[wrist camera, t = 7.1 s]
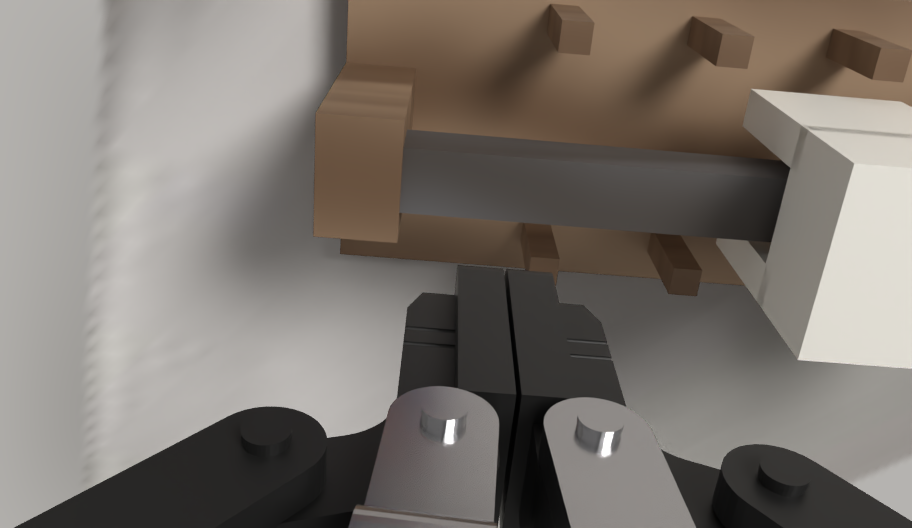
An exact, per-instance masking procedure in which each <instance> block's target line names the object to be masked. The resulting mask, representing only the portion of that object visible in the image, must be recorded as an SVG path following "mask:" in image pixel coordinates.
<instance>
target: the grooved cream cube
mask: <svg viewBox="0 0 912 528" xmlns="http://www.w3.org/2000/svg"><path fill="white" fill-rule="evenodd" d="M743 127H744V128H745V129H746V130H748V131H749V132H750V133H751V134H752V135H753V136H754V137H756V138H757V139H758V140H759V141H760V142H761V143H762V144H764V145H765V146H766V147H767V148H768V149H769V150H770V151H772V152H773V153H774V154H775V155H776V156H777V157H778V158H780V159H781V160H782V161H783V162H784V163H785V164H786V165H788V166H789V167H790V171H789V175H788V179H787V183H786V187H785V191H784V195H783V199H782V203H781V207H780V211H779V214H778V218H777V222H776V226H775V230H774V234H773V238H772V242H759V241H746V240H734V239H721V238H717V241H716V244H717V246H718V247H719V249H720V250H721V252H722V253H723V254H724V256H725V257H726V259H727V260H728V262H729V263H730V264H731V266H732V267H733V269H734V270H735V271H736V273H737V274H738V276H739V277H740V279H741V280H742V281H743V283H744V284H745V286H746V287H747V289H748V290H749V291H750V293H751V294H752V296H753V297H754V298H755V300H756V301H757V303H758V304H759V306H760V307H761V308H762V310H763V311H764V313H765V314H766V316H767V317H768V318H769V320H770V321H771V323H772V324H773V325H774V327H775V328H776V330H777V331H778V333H779V334H780V335H781V337H782V338H783V340H784V341H785V343H786V344H787V345H788V347H789V348H790V350H791V351H792V352H793V354H794V355H795V357H796V358H797V360H804V361H817V362H830V363H844V364H857V365H870V366H883V367H897V368H910V369H912V107H911V106H909V105H907V104H905V103H903V102H899V101H888V100H876V99H864V98H853V97H841V96H829V95H818V94H806V93H794V92H783V91H771V90H759V89H751V91H750V95H749V100H748V104H747V109H746V113H745V117H744V122H743Z"/></svg>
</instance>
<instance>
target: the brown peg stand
mask: <svg viewBox="0 0 912 528" xmlns="http://www.w3.org/2000/svg"><path fill="white" fill-rule="evenodd" d="M751 89H759V90H771V91H783V92H794V93H806V94H818V95H829V96H841V97H853V98H864V99H876V100H888V101H899V102H903V103H905V104H907V105H909V106H911V107H912V0H348V26H347V57H346V64H345V65H344V67H343V69H342V70H341V72H340V74H339V75H338V77H337V78H336V80H335V82H334V83H333V85H332V87H331V88H330V90H329V92H328V93H327V95H326V97H325V98H324V100H323V102H322V103H321V105H320V107H319V108H318V110H317V112H316V116H315V173H314V231H313V236H314V237H326V238H339V239H341V246H340V254H348V255H361V256H374V257H386V258H399V259H412V260H425V261H438V262H450V263H463V264H476V265H489V266H502V267H514V268H525V270H526V271H538V272H551V273H552V274H553V278H554V282H555V285H556V282H557V275H558V271H566V272H578V273H591V274H604V275H617V276H630V277H642V278H655V279H661V280H662V282H663V284H664V286H665V288H666V290H667V292H668V294H675V295H688V296H697V292H698V288H699V284H700V282H706V283H719V284H732V285H745V284H744V283H743V281H742V280H741V279H740V277H739V276H738V274H737V273H736V271H735V270H734V269H733V267H732V266H731V264H730V263H729V262H728V260H727V259H726V257H725V256H724V254H723V253H722V252H721V250H720V249H719V247H718V246H717V244H716V241H717V238H721V239H734V240H746V241H759V242H772V238H773V234H774V230H775V226H776V222H777V218H778V214H779V211H780V207H781V203H782V199H783V195H784V191H785V187H786V183H787V179H788V175H789V171H790V167H789V166H788V165H786V164H785V163H784V162H783V161H782V160H781V159H780V158H778V157H777V156H776V155H775V154H774V153H773V152H772V151H770V150H769V149H768V148H767V147H766V146H765V145H764V144H762V143H761V142H760V141H759V140H758V139H757V138H756V137H754V136H753V135H752V134H751V133H750V132H749V131H748V130H746V129H745V128H744V127H743V122H744V117H745V113H746V109H747V104H748V100H749V95H750V91H751Z"/></svg>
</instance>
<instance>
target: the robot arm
mask: <svg viewBox="0 0 912 528" xmlns="http://www.w3.org/2000/svg"><path fill="white" fill-rule="evenodd" d="M606 343H607V341H606V338H605V334H604V331H603V327H602V324H601V322H600V321H599V320H598V319H597V318H596V317H595V316H594V315H593V314H592V313H591V312H590V311H588V310H587V309H586V308H585V307H584V306H583V305H574V304H562V303H559V301H558V296H557V292H556V287H555V282H554V278H553V274H552V273H551V272H538V271H526V270H514V269H506V271H505V275H504V271H503V269H499V268H487V267H475V266H462V265H458V267H457V274H456V284H455V294H454V295H447V294H435V293H422V294H421V295H420V296H419V297H418V298H417V299H416V300H415V301H414V302H413V303H412V304H411V305H410V306H409V307H408V308H407V317H406V325H405V334H404V343H403V351H402V360H401V369H400V377H399V386H398V395H397V399H396V400H395V401H394V402H393V403H392V405H391V406H390V409H389V411H388V415H387V418H386V419H385V420H384V421H383V422H381V423H380V424H378V425H376V426H375V427H372V428H370V429H368V430H365V431H362V432H359V433H355V434H350V435H345V436H338V437H331V438H327V436H326V432H325V431H324V429H323V427H322V426H321V425H320V424H319V422H318V421H316V420H315V419H314V418H312V417H311V416H309V415H307V414H305V413H303V412H300V411H297V410H294V409H289V408H283V407H258V408H252V409H247V410H243V411H240V412H237V413H235V414H233V415H230V416H228V417H226V418H224V419H222V420H220V421H218V422H216V423H215V424H213V425H211V426H209V427H207V428H205V429H203V430H201V431H199V432H197V433H195V434H193V435H191V436H190V437H188V438H186V439H184V440H182V441H180V442H178V443H176V444H174V445H172V446H170V447H168V448H166V449H165V450H163V451H161V452H159V453H157V454H155V455H153V456H151V457H149V458H147V459H145V460H143V461H141V462H140V463H138V464H136V465H134V466H132V467H130V468H128V469H126V470H124V471H122V472H120V473H118V474H116V475H115V476H113V477H111V478H109V479H107V480H105V481H103V482H101V483H99V484H97V485H95V486H93V487H91V488H90V489H88V490H86V491H84V492H82V493H80V494H78V495H76V496H74V497H72V498H71V499H68V500H67V501H65V502H63V503H61V504H59V505H57V506H55V507H53V508H51V509H49V510H48V511H46V512H43V513H42V514H40V515H38V516H36V517H34V518H32V519H30V520H28V521H26V522H24V523H22V524H20V525H18V526H16V527H15V528H498V521H499V516H500V528H912V521H910V520H909V519H907V518H906V517H904V516H902V515H900V514H899V513H897V512H896V511H894V510H892V509H891V508H889V507H888V506H886V505H884V504H883V503H881V502H879V501H878V500H876V499H874V498H873V497H871V496H870V495H868V494H866V493H865V492H863V491H861V490H860V489H858V488H857V487H855V486H853V485H852V484H850V483H848V482H847V481H845V480H843V479H842V478H840V477H839V476H837V475H835V474H834V473H832V472H830V471H829V470H827V469H826V468H824V467H822V466H821V465H819V464H817V463H816V462H814V461H812V460H810V459H809V458H807V457H805V456H803V455H801V454H798V453H796V452H793V451H790V450H788V449H784V448H780V447H776V446H770V445H759V444H754V445H745V446H740V447H738V448H735V449H733V450H732V451H730V452H729V453H728V454H727V455H726V456H725V457H724V459H723V462H722V465H721V469H720V470H719V469H716V468H712V467H709V466H705V465H702V464H698V463H695V462H691V461H688V460H684V459H681V458H678V457H676V456H673V455H671V454H669V453H666V452H664V451H663V450H661V448H660V446H659V444H658V442H657V440H656V437H655V435H654V433H653V431H652V429H651V427H650V426H649V424H648V423H647V422H646V421H645V420H644V419H643V418H642V417H641V416H640V415H638V414H637V413H635V412H634V411H632V410H631V409H629V408H627V407H626V404H625V401H624V398H623V394H622V391H621V388H620V384H619V381H618V378H617V374H616V371H615V368H614V364H613V361H611V354H610V351H609V348H608V345H606Z"/></svg>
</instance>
